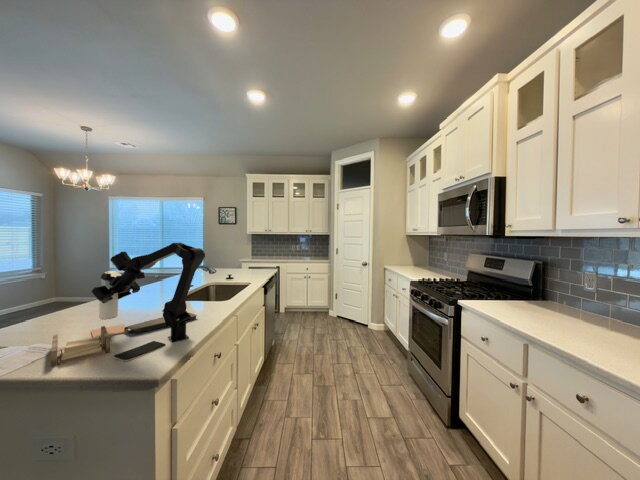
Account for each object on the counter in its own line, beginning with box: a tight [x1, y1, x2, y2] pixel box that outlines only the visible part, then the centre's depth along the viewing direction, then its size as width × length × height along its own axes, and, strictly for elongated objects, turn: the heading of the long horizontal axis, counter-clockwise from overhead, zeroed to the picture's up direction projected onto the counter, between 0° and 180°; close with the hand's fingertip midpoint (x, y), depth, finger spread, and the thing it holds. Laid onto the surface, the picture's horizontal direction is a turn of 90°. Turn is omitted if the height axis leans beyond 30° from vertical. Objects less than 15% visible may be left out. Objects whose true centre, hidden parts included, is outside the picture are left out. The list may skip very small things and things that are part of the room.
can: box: [98, 293, 119, 321], centre depth 116 cm, size 6×6×12 cm
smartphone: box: [112, 340, 166, 362], centre depth 98 cm, size 7×1×15 cm
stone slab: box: [124, 312, 198, 333], centre depth 127 cm, size 10×3×30 cm
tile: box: [90, 323, 130, 339], centre depth 116 cm, size 12×12×1 cm
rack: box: [50, 325, 111, 367], centre depth 98 cm, size 19×15×5 cm
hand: (106, 302), depth 116 cm, fingers closed on can, 5 cm apart
